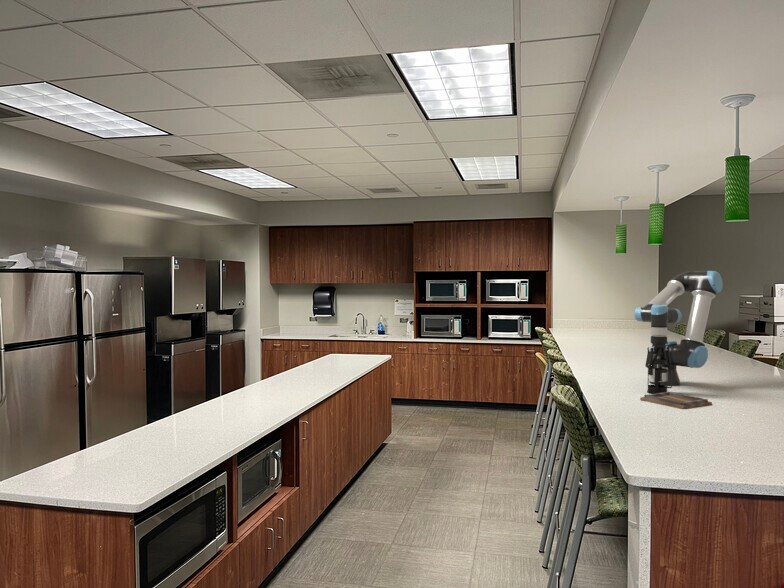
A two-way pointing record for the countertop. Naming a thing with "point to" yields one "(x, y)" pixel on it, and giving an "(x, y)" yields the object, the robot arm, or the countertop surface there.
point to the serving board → (676, 400)
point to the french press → (657, 387)
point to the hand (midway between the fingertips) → (658, 380)
